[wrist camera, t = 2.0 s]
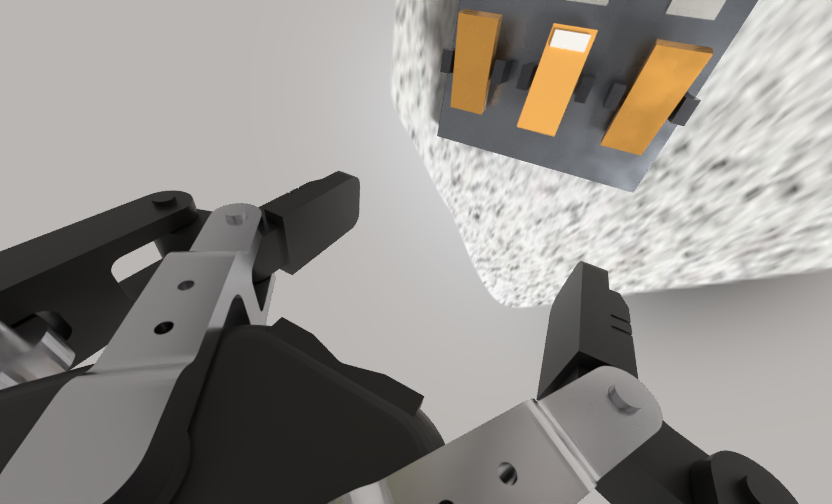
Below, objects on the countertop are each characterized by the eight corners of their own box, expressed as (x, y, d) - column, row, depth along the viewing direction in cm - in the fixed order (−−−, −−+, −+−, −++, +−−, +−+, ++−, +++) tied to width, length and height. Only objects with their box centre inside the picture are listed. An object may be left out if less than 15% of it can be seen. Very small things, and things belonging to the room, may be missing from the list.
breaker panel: (755, -15, 19) (806, -32, 15) (630, 182, 28) (638, 211, 23) (478, -44, 25) (450, -64, 20) (445, 130, 33) (421, 146, 29)
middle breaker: (595, 35, 21) (598, 28, 20) (554, 136, 24) (554, 135, 23) (553, 28, 22) (553, 21, 21) (517, 127, 25) (516, 125, 24)
